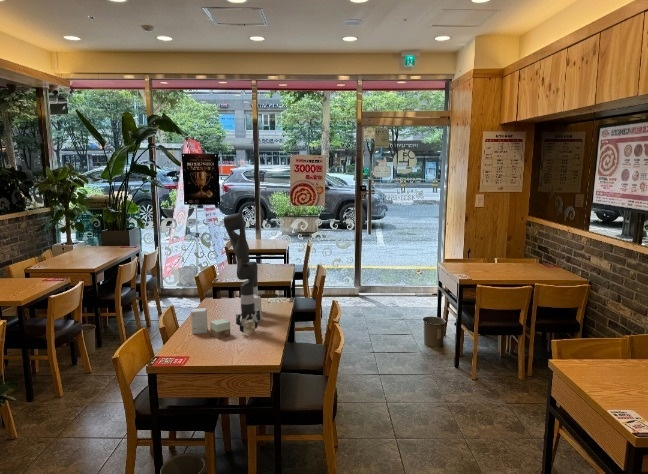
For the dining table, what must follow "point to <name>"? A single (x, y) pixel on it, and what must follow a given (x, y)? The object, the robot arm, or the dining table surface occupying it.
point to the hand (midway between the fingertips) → (248, 330)
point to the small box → (199, 321)
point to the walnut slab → (220, 333)
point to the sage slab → (219, 325)
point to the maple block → (249, 327)
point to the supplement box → (257, 306)
